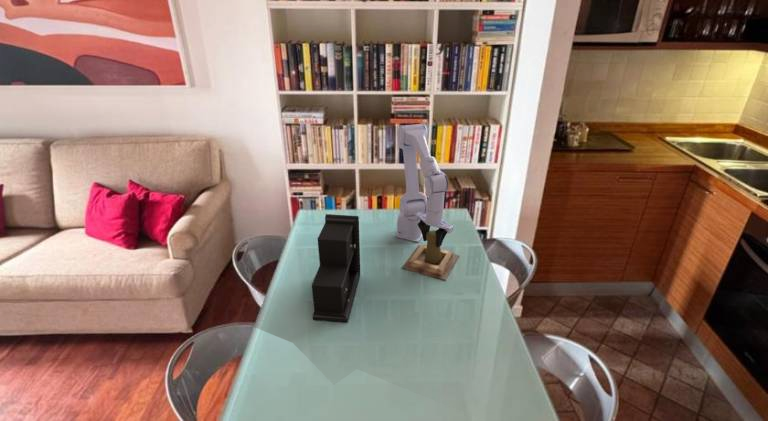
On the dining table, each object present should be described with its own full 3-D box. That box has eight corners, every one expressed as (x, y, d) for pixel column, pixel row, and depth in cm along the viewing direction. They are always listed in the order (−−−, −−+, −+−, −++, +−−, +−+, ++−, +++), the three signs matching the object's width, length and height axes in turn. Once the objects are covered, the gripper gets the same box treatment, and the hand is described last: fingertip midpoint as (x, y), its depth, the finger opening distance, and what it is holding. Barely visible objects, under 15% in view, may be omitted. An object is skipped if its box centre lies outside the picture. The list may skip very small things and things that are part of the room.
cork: (440, 264, 143) (440, 238, 138) (423, 262, 144) (423, 236, 139) (443, 254, 148) (443, 228, 143) (426, 252, 150) (426, 227, 144)
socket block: (401, 268, 143) (401, 262, 142) (418, 245, 156) (418, 240, 155) (445, 280, 137) (445, 274, 136) (459, 256, 150) (459, 250, 148)
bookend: (348, 323, 119) (344, 256, 108) (311, 320, 120) (304, 254, 109) (361, 275, 140) (359, 215, 129) (330, 273, 141) (325, 213, 130)
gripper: (459, 211, 134) (456, 246, 141) (424, 198, 143) (423, 231, 150) (447, 219, 130) (444, 254, 136) (412, 204, 139) (410, 238, 145)
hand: (432, 243), depth 143 cm, fingers closed on cork, 5 cm apart
